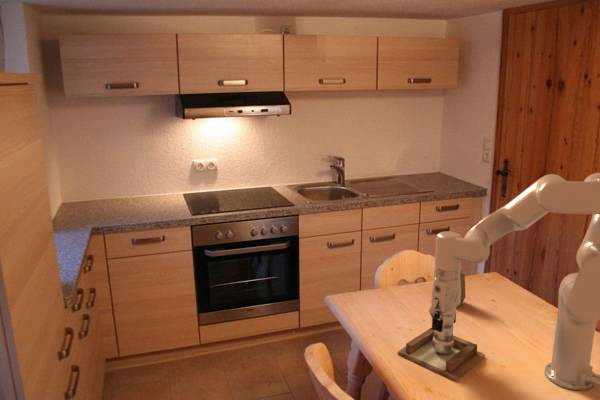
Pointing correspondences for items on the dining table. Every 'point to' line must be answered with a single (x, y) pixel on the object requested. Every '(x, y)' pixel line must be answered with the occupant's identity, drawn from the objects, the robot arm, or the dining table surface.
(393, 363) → the dining table surface
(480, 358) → the tray
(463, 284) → the squeeze bottle
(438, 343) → the plastic bottle
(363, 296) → the dining table surface
